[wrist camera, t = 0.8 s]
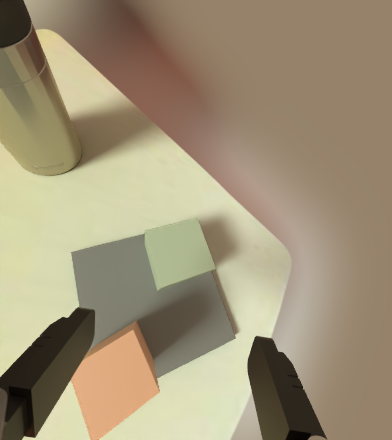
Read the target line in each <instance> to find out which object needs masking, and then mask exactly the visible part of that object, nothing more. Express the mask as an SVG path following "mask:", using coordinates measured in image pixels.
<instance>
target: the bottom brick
mask: <svg viewBox="0 0 392 440" xmlns="http://www.w3.org/2000/svg"><path fill="white" fill-rule="evenodd" d="M145 247H146V251H147V255H148V258H149V262H150V266H151V269H152V273H153V277H154V280H155V284H156V288H157V291H159V290H162V289H165V288H167V287H170V286H173V285H176V284H179V283H182V282H184V281H187V280H190V279H193V278H196V277H198V276H201V275H204V274H206V273H208V272H210V271H212V270H214V269H216V267H215V264H214V261H213V259H212V256H211V253H210V251H209V248H208V245H207V243H206V240H205V237H204V235H203V232H202V229H201V226H200V224H199V221H198V218H195V219H191V220H187V221H182V222H178V223H174V224H170V225H166V226H162V227H158V228H153V229H149V230H145Z"/></svg>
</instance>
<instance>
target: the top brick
mask: <svg viewBox="0 0 392 440" xmlns="http://www.w3.org/2000/svg"><path fill="white" fill-rule="evenodd" d="M71 381H72V384H73V387H74V390H75V393H76V396H77V399H78V402H79V405H80V408H81V411H82V414H83V417H84V420H85V423H86V426H87V429H88V433H89V436H90V439H91V440H99V439H100V438H101V437H103V436H104V435H105V434H107V433H108V432H109V431H110V430H112V429H113V428H114V427H116V426H117V425H118V424H119V423H121V422H122V421H123V420H124V419H126V418H127V417H128V416H130V415H131V414H132V413H133V412H135V411H136V410H137V409H139V408H140V407H141V406H142V405H144V404H145V403H146V402H147V401H149V400H150V399H151V398H153V397H154V396H155V395H156V394H158V393H159V392H160V391H159V386H158V381H157V376H156V371H155V365H154V360H153V358H152V355H151V353H150V351H149V348H148V346H147V344H146V341H145V339H144V337H143V334H142V332H141V330H140V328H139V325H138V323H137V321H135V322H133V323H132V324H130V325H128V326H127V327H125V328H123V329H122V330H120V331H118V332H117V333H115V334H113V335H112V336H110V337H108V338H107V339H105V340H103V341H102V342H100V343H98V344H97V345H95V346H94V347H93V348H92V349H91V350H90V351H89V352H87V354H86V355H85V357H84V359H83V360H82V362H81V364H80V365H79V367H78V369H77V370H76V372H75V373H74V375H73V377H72V378H71Z"/></svg>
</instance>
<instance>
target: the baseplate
mask: <svg viewBox="0 0 392 440" xmlns="http://www.w3.org/2000/svg"><path fill="white" fill-rule="evenodd" d="M71 254H72V260H73V267H74V274H75V280H76V287H77V293H78V300H79V306H80V307H81V308H88V309H94V310H95V334H94V339H93V342H92V345H91V347H90V349H89V351H90V350H91V349H92V348H93V347H94V346H95V345H97V344H98V343H100V342H102V341H103V340H105V339H107V338H108V337H110V336H112V335H113V334H115V333H117V332H118V331H120V330H122V329H123V328H125V327H127V326H128V325H130V324H132V323H133V322H135V321H137V323H138V325H139V328H140V330H141V332H142V334H143V337H144V339H145V341H146V344H147V346H148V348H149V351H150V353H151V355H152V358H153V360H154V365H155V371H156V376H157V378H159V377H161V376H163V375H164V374H166V373H168V372H170V371H172V370H174V369H176V368H178V367H180V366H182V365H184V364H186V363H188V362H190V361H192V360H194V359H196V358H198V357H200V356H202V355H204V354H206V353H208V352H210V351H212V350H214V349H216V348H218V347H220V346H222V345H224V344H225V343H227V342H229V341H231V340H233V339H235V338H236V337H235V335H234V332H233V329H232V326H231V324H230V321H229V318H228V315H227V313H226V310H225V307H224V304H223V302H222V299H221V296H220V293H219V291H218V288H217V285H216V282H215V280H214V277H213V274H212V271H210V272H208V273H206V274H204V275H201V276H198V277H196V278H193V279H190V280H187V281H184V282H182V283H179V284H176V285H173V286H170V287H167V288H165V289H162V290H159V291H157V288H156V284H155V280H154V277H153V273H152V269H151V266H150V262H149V258H148V255H147V251H146V247H145V234H143V235H139V236H135V237H131V238H127V239H123V240H119V241H115V242H111V243H107V244H103V245H99V246H95V247H90V248H86V249H82V250H78V251H74V252H71ZM89 351H88V352H89Z"/></svg>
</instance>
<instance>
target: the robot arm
mask: <svg viewBox="0 0 392 440" xmlns="http://www.w3.org/2000/svg"><path fill="white" fill-rule="evenodd" d="M0 142H1V143H2V144H3V145H4V147H5V148H6V149H7V150H8V151H9V152H10V153H11V155H12V156H13V157H14V158H15V159H16V160H17V161H18V162H19V164H20V165H21V166H22V167H23V168H25V169H26V170H28V171H30V172H32V173H35V174H38V175H46V176H47V175H57V174H61V173H64V172H67V171H69V170H70V169H72V168H73V167H74V166H76V165H77V163H78V162H79V161H80V158H81V156H82V149H81V146H80V143H79V141H78V138H77V135H76V133H75V130H74V128H73V125H72V122H71V120H70V117H69V115H68V112H67V110H66V107H65V105H64V102H63V100H62V97H61V95H60V92H59V89H58V87H57V84H56V82H55V79H54V77H53V74H52V72H51V69H50V67H49V64H48V61H47V59H46V56H45V54H44V52H43V49H42V47H41V44H40V42H39V39H38V36H37V34H36V31H35V29H34V26H33V24H32V21H31V18H30V16H29V13H28V11H27V8H26V6H25V3H24V1H23V0H0ZM94 334H95V310H94V309H88V308H81V307H78V308H76V309H75V310H74V312H73V313H72V314H71V315H70V316H69V317H68V318H65V317H62V318H60V319H59V320H57V321H56V322H54V323H52V324H51V325H49V327H48V328H47V329H46V330H45V331H44V332H43V333H42V334H41V335H40V337H38V338H37V339H36V340H35V341H34V342H33V343H32V345H31V346H30V347H29V348H28V349H27V350H26V351H25V352H24V353H23V354H22V355H21V356H20V357H19V358H18V359H17V360H16V361H15V362H14V363H13V364H12V365H11V367H10V368H9V369H8V370H7V371H6V372H5V373H4V374H3V375H2V376H1V377H0V440H22V439H23V437H24V436H26V437H33V438H35V437H36V436H37V434H38V432H39V431H40V429H41V427H42V426H43V424H44V423H45V421H46V419H47V418H48V416H49V414H50V413H51V411H52V409H53V408H54V406H55V405H56V403H57V401H58V400H59V398H60V396H61V395H62V393H63V391H64V390H65V388H66V387H67V385H68V383H69V382H70V380H71V378H72V377H73V375H74V373H75V372H76V370H77V369H78V367H79V365H80V364H81V362H82V360H83V359H84V357H85V355H86V354H87V352H88V351H89V349H90V347H91V345H92V342H93V339H94ZM248 376H249V380H250V385H251V389H252V394H253V398H254V402H255V407H256V411H257V416H258V421H259V425H260V430H261V434H262V438H263V440H327V438H326V436H325V434H324V432H323V430H322V428H321V426H320V423H319V421H318V419H317V417H316V414H315V412H314V410H313V408H312V406H311V403H310V401H309V399H308V397H307V395H306V393H305V390H303V386H302V384H301V382H300V380H299V379H298V375H297V373H296V371H295V368H294V366H293V364H292V363H291V361H290V360H289V359H288V358H287V357H286V355H285V354H284V353H283V352H278V350H277V348H276V345H275V343H274V341H273V339H272V338H266V337H260V336H256V337H255V339H254V342H253V345H252V348H251V351H250V355H249V358H248Z"/></svg>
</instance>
